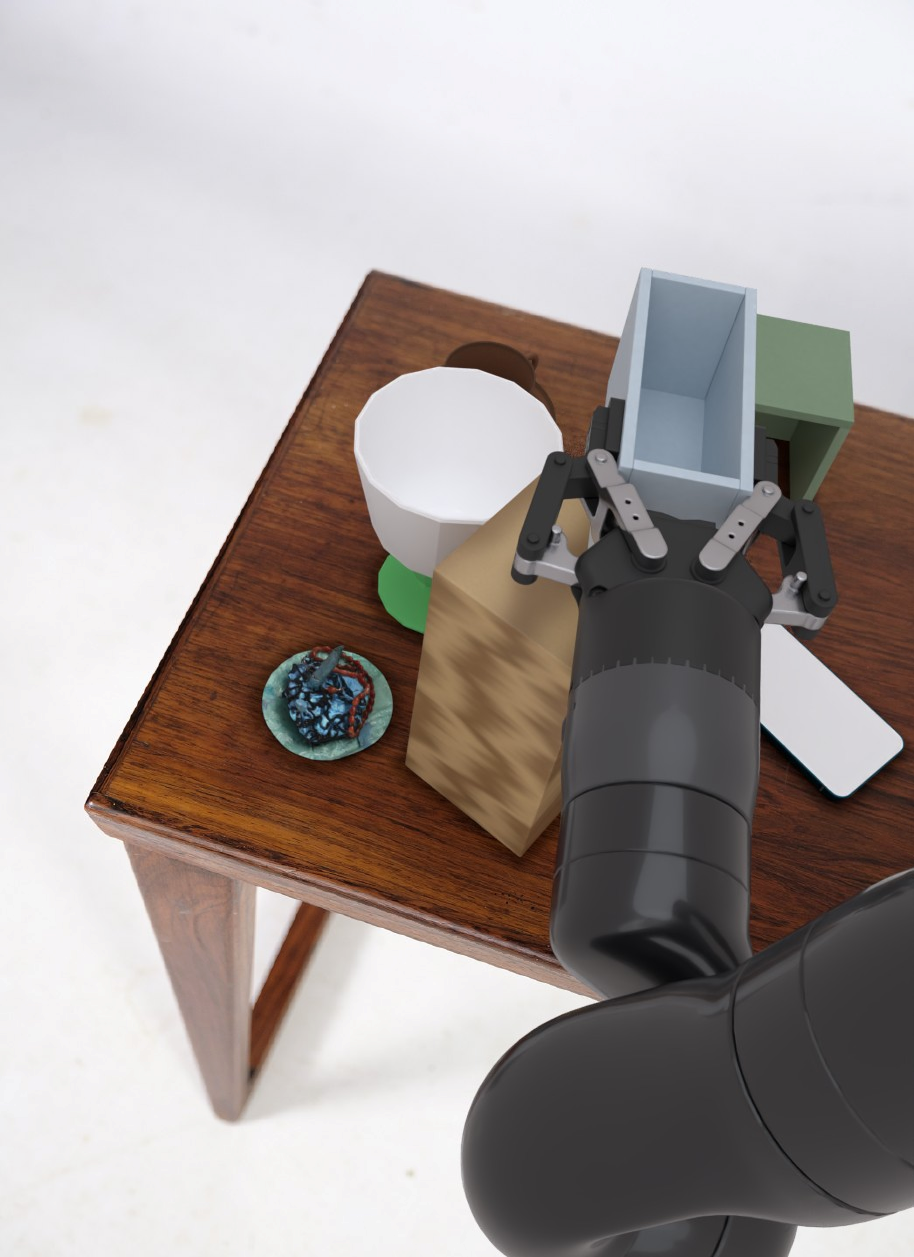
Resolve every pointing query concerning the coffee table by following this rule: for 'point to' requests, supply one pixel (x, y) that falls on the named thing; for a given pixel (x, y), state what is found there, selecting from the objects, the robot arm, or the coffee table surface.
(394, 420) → the cup
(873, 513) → the coffee table surface
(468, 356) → the cup and saucer
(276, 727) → the dish
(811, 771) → the smartphone
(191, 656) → the coffee table surface
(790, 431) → the cabinet
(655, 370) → the bin
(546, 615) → the stand
